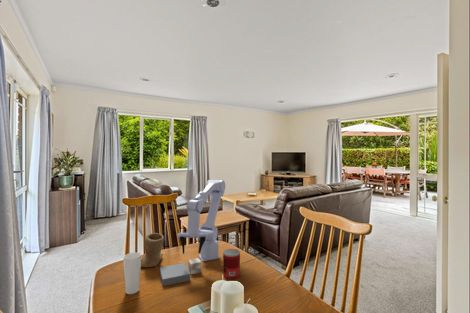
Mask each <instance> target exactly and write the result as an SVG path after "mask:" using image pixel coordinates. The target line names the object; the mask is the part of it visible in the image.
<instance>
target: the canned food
mask: <svg viewBox="0 0 470 313" xmlns="http://www.w3.org/2000/svg"><path fill="white" fill-rule="evenodd" d="M222 257H223V258H222V264H223V265H222V268H223V270H222V272H223V274H222V275H223V277H224V278H226V279H229V280H235V279H237V278H239V277H240V274H241V252H240V250H239V249H236V248H229V249H226V250H224V251H223V252H222Z"/></svg>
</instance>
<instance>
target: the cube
mask: <svg viewBox="0 0 470 313" xmlns="http://www.w3.org/2000/svg"><path fill="white" fill-rule="evenodd" d="M188 270H189V272H190V275H194V274H200V273H202V260H201V259H200V257H197V258H196V257H195V258H191V259H188Z"/></svg>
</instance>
